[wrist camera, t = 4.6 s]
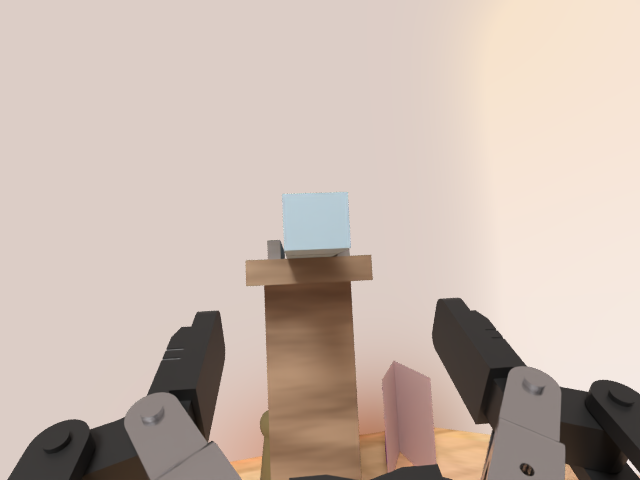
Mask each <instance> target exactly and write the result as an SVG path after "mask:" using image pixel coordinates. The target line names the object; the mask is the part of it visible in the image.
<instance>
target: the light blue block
mask: <svg viewBox="0 0 640 480" xmlns="http://www.w3.org/2000/svg"><path fill="white" fill-rule="evenodd" d="M282 200H283V201H282V202H283V227H284V251H285V253H286V256H287V259H291V258H314V257H332V256H334V255H336V254H339V253H340V252H343V251H345V250H347V249H349V248H351V243H350V225H349V207H348V192H336V193H305V194H304V193H303V194H282Z"/></svg>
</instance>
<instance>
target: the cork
mask: <svg viewBox="0 0 640 480" xmlns="http://www.w3.org/2000/svg"><path fill="white" fill-rule="evenodd" d="M260 429H261V432H262V434H263V435H264V445H263V456H262V467H261V478H260V480H271V468H270V438H269V410H268V411H266V412H265V413H264V414H263V415H262V417H261V420H260Z"/></svg>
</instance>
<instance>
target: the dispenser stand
mask: <svg viewBox="0 0 640 480" xmlns="http://www.w3.org/2000/svg"><path fill="white" fill-rule="evenodd" d="M267 245H268V260H247V261H246V286H260V285H264V290H265V321H266V350H267V380H268V409H269V438H270V468H271V480H289V478H293V477H304V476H315V475H326V474H327V475H333V476H338V477H344V478H350V479H356V480H362V479H361V461H360V443H359V425H358V407H357V389H356V371H355V352H354V334H353V318H352V317H353V316H352V298H351V281H358V280H359V281H360V280H372V279H373V278H372V263H371V262H372V261H371V255H358V256H350V254H349V249H347V250H345V251H343V252H340V253H339V254H336V255H334V256H332V257H314V258H291V259H285V252H284V249H283V247H282V244H281V241H280V240H271V241H267Z"/></svg>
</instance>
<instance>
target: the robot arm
mask: <svg viewBox="0 0 640 480" xmlns="http://www.w3.org/2000/svg"><path fill="white" fill-rule="evenodd" d="M432 339H433V344H434V347H435V350H436V352H437V353H438V355H439V357H440V359H441V361H442V363H443V365H444V366H445V368H446V370H447V372H448V374H449V375H450V377H451V379H452V381H453V383H454V385H455V387H456V388H457V390H458V392H459V394H460V396H461V398H462V400H463V401H464V403H465V405H466V407H467V409H468V411H469V413H470V414H471V416H472V418H473V420H474V422H475V424H486V423H489V424H490V425H491V427H492V429H493V430H492V433H491V437H490V441H489V446H488V450H487V455H486V459H485V464H484V468H483V472H482V477H481V480H565V464H569V465H570V467H571V468H572V470H573V471H574V473H575V474H576V476H577V478H578V479H579V480H640V479H639V477H638V476H637V475H636V474H635V473H634V471H633V470H632V469H631V468H630V466H629V465H628V464H627V463H626V462H627V460H628V459H629V460H630V461H631V462H632V464H633V465H634V466H635V468H636V469H637V470H638V471H639V472H640V394H639V393H637V392H636V391H634V390H633V389H631V388H629V387H627V386H625V385H623V384H620V383H617V382H614V381H609V380H598V381H595V382H593V383H592V385H591V387H590V390H589V392H585V391H580V390H574V389H569V388H563V387H559V385H558V384H557V382H556V381H555V380H554V379H553V378H552V377H550V376H549V375H548V374H546V373H544V372H542V371H540V370H538V369H535V368H532V367H527V366H526V365H525V363H524V362H523V361H522V360H521V359H520V357H519V356H518V355H517V354H516V353H515V351H514V350H513V349H512V348H511V346H510V345H509V344H508V343H507V342H506V340H505V339H503V337H502V335H501V334H500V333H499V332H498V331H496V328H495V327H494V326H493V324H492V323H491V322H490V321H489V320H488V319H487V318H486V317H484V316H483V315H481V314H480V313H479V312H477V311H476V310H474V311H470V309H469V308H468V307H467V306H466V304H465V303H464V302H463V300H462V299H461V298H446V299H439V300H438V301H437V306H436V312H435V318H434V324H433V331H432ZM224 360H225V344H224V337H223V330H222V323H221V317H220V312H219V311H204V312H197V314H196V315H195V318H194V321H193V324H192V327H181V328H180V329H179V330H178V331H177V332H176V333H175V334H174V336H172V337H171V339H170V342H169V344H168V347H167V351H166V352H165V354H164V356H163V360H162V361H161V363H160V366H159V368H158V371H157V373H156V375H155V377H154V380H153V382H152V385H151V387H150V389H149V392H148V394H147V396H146V397H143V398H142V399H140V400H139V401H137V402H136V403H135V404H134V405H133V406H132V407H131V408H130V409H129V410H128V412H127V414H126V416H125V417H124V418H122V419H120V420H117V421H115V422H111V423H109V424H105V425H102V426H100V427H96V428H93V429H89V426H88V425H87V423H85V422H84V421H81V420H76V419H74V420H66V421H62V422H59V423H57V424H55V425H53V426H51V427H49V428H47V429H46V430H44V431H43V432H41V433H40V434H39V435H38V436H37V437H35V438H34V439H33V441H32V442H31V443H30V444H29V446H28V447H27V449H26V450H25V452H24V454H23V455H22V457H21V458H20V460H19V462H18V463H17V465H16V467H15V468H14V470H13V471H12V473H11V475H10V476H9V478H8V480H242V479H241V478H240V476H239V475H238V474H237V472H236V471H235V469H234V468H233V466H232V465H231V464H230V462H229V461H228V459H227V458H226V457H225V455H224V454H223V452H222V451H221V450H220V448H219V447H218V445H217V444H216V443H214V442H213V441H211V442H209V443H208V440H209V435H210V430H211V425H212V420H213V415H214V411H215V405H216V400H217V396H218V391H219V386H220V381H221V376H222V371H223V366H224ZM289 480H356V479H350V478H344V477H338V476H333V475H327V474H326V475H315V476H304V477H293V478H289ZM371 480H452V479H449V478H444V477H442V475H441V472H440V470H439V467H438V464H433V465H423V466H412V467H402V468H399V469H397V470H394V471H391V472H389V473H386V474H384V475H381V476H379V477H376V478H374V479H371Z"/></svg>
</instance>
